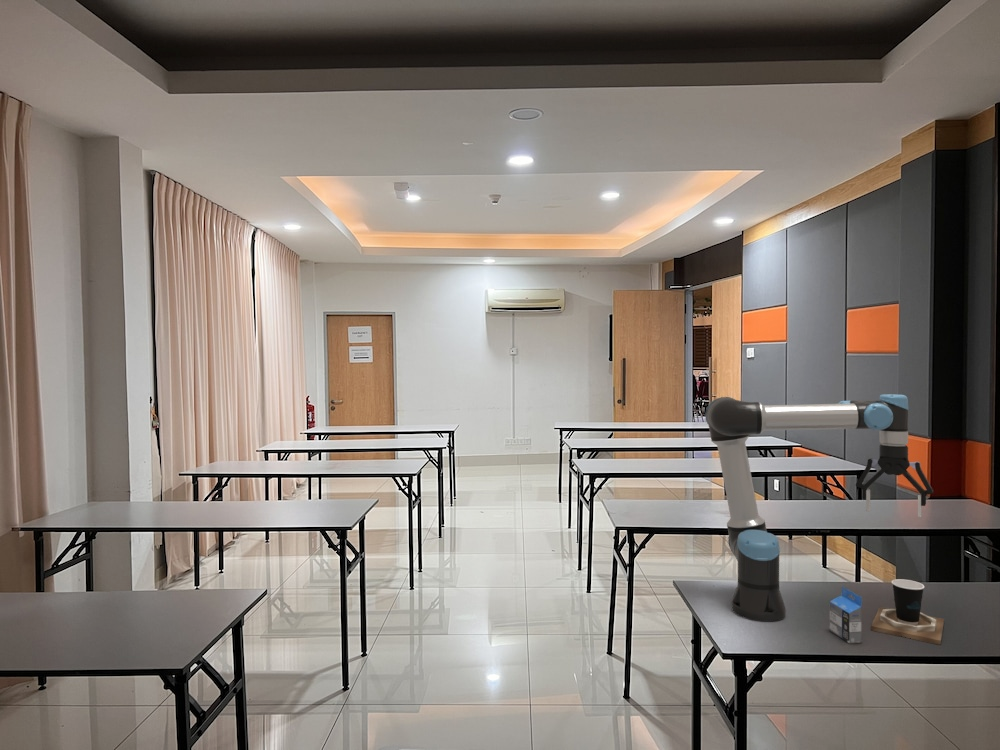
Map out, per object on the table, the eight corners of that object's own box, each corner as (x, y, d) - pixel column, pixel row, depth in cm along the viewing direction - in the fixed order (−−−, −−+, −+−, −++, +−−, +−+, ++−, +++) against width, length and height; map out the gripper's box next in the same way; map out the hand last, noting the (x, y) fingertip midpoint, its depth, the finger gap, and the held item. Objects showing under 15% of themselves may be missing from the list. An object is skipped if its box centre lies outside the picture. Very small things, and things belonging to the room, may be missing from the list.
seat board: (871, 630, 179) (871, 620, 179) (879, 610, 193) (879, 602, 193) (940, 644, 169) (940, 635, 169) (944, 623, 184) (944, 614, 183)
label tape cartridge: (828, 630, 179) (828, 586, 179) (841, 629, 179) (841, 586, 179) (848, 644, 170) (848, 597, 170) (862, 643, 171) (862, 597, 170)
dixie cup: (898, 614, 187) (898, 577, 187) (929, 623, 180) (929, 584, 180) (886, 621, 182) (886, 582, 182) (917, 630, 176) (917, 590, 176)
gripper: (943, 446, 192) (943, 516, 192) (849, 440, 207) (849, 505, 207) (942, 448, 186) (941, 521, 186) (846, 442, 201) (845, 510, 202)
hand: (893, 513), depth 197 cm, fingers open, 13 cm apart
